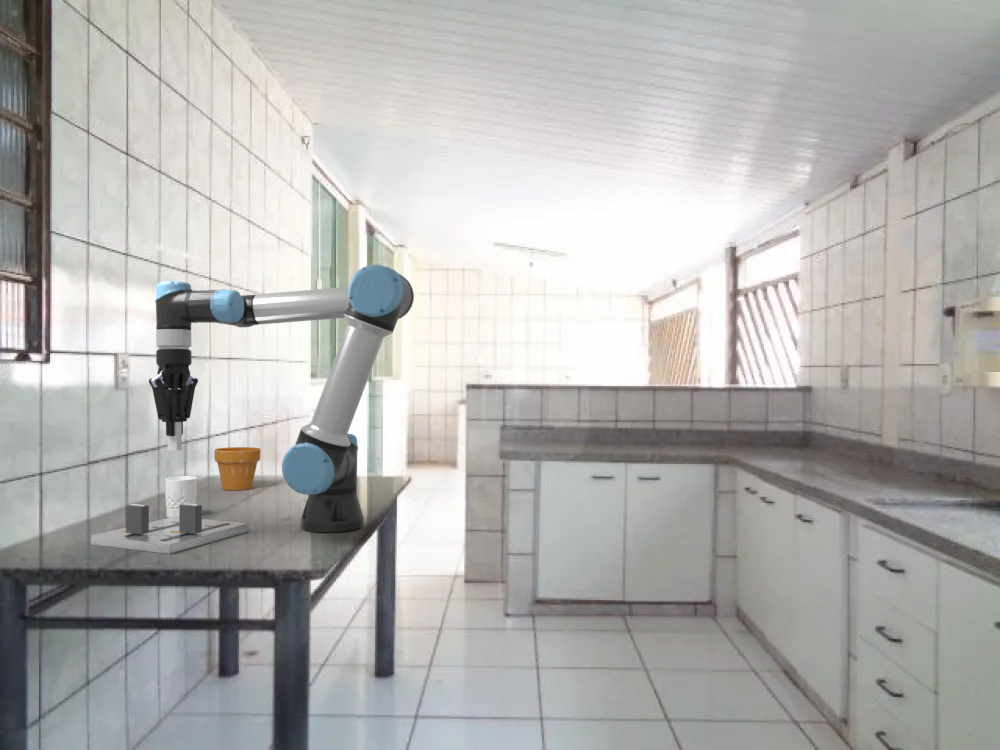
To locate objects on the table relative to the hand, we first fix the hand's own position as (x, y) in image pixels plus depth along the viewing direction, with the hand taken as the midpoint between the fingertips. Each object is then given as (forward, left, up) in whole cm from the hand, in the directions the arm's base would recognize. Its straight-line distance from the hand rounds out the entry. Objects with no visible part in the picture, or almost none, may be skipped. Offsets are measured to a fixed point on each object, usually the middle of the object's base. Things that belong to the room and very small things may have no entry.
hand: (174, 449), depth 173 cm
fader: (-10, +5, -17) cm, 20 cm away
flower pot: (+34, -62, -20) cm, 74 cm away
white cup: (+15, -18, -20) cm, 31 cm away
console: (-3, +3, -20) cm, 20 cm away
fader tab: (0, +10, -17) cm, 20 cm away
